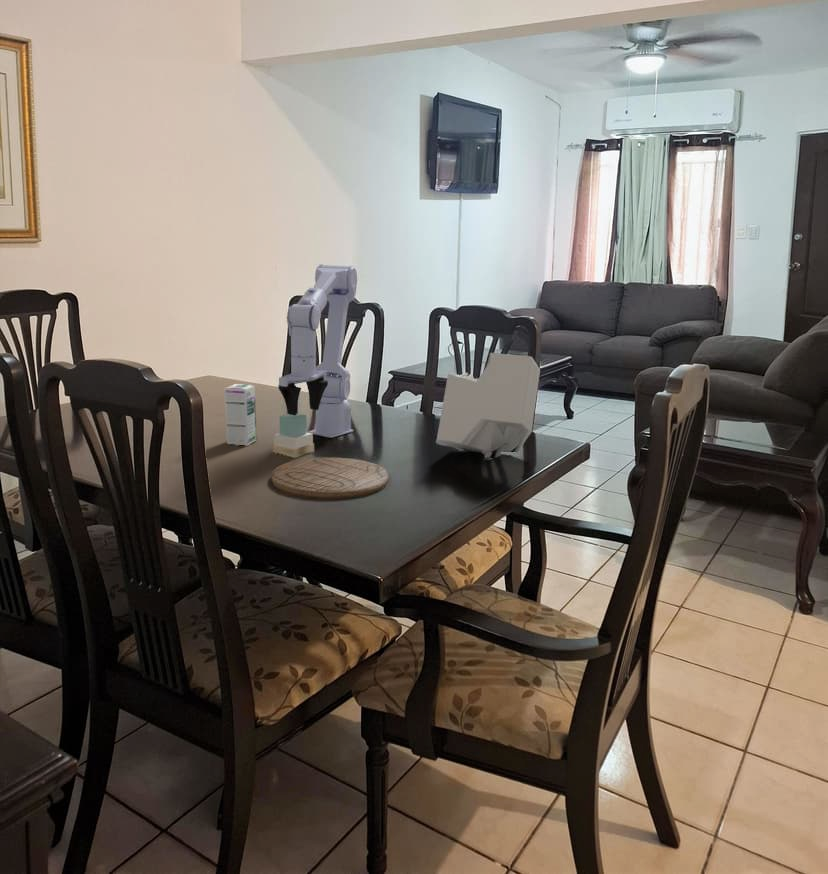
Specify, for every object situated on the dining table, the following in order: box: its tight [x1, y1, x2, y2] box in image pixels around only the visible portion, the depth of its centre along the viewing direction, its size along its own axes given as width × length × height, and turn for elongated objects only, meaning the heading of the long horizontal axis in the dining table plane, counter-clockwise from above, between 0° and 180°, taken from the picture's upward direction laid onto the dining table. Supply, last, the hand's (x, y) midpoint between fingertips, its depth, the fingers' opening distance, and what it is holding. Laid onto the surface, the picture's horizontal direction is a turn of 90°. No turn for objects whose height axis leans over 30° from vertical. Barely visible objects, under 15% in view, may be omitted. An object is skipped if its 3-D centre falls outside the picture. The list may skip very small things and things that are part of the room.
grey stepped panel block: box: [435, 352, 541, 459], centre depth 188 cm, size 20×16×25 cm
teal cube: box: [279, 413, 308, 437], centre depth 188 cm, size 4×4×4 cm
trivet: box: [271, 457, 389, 500], centre depth 169 cm, size 25×25×2 cm
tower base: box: [272, 443, 315, 459], centre depth 189 cm, size 7×7×2 cm
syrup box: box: [224, 383, 258, 447], centre depth 195 cm, size 6×6×14 cm
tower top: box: [273, 432, 314, 449], centre depth 189 cm, size 6×6×2 cm
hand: (303, 412), depth 188 cm, fingers open, 7 cm apart
